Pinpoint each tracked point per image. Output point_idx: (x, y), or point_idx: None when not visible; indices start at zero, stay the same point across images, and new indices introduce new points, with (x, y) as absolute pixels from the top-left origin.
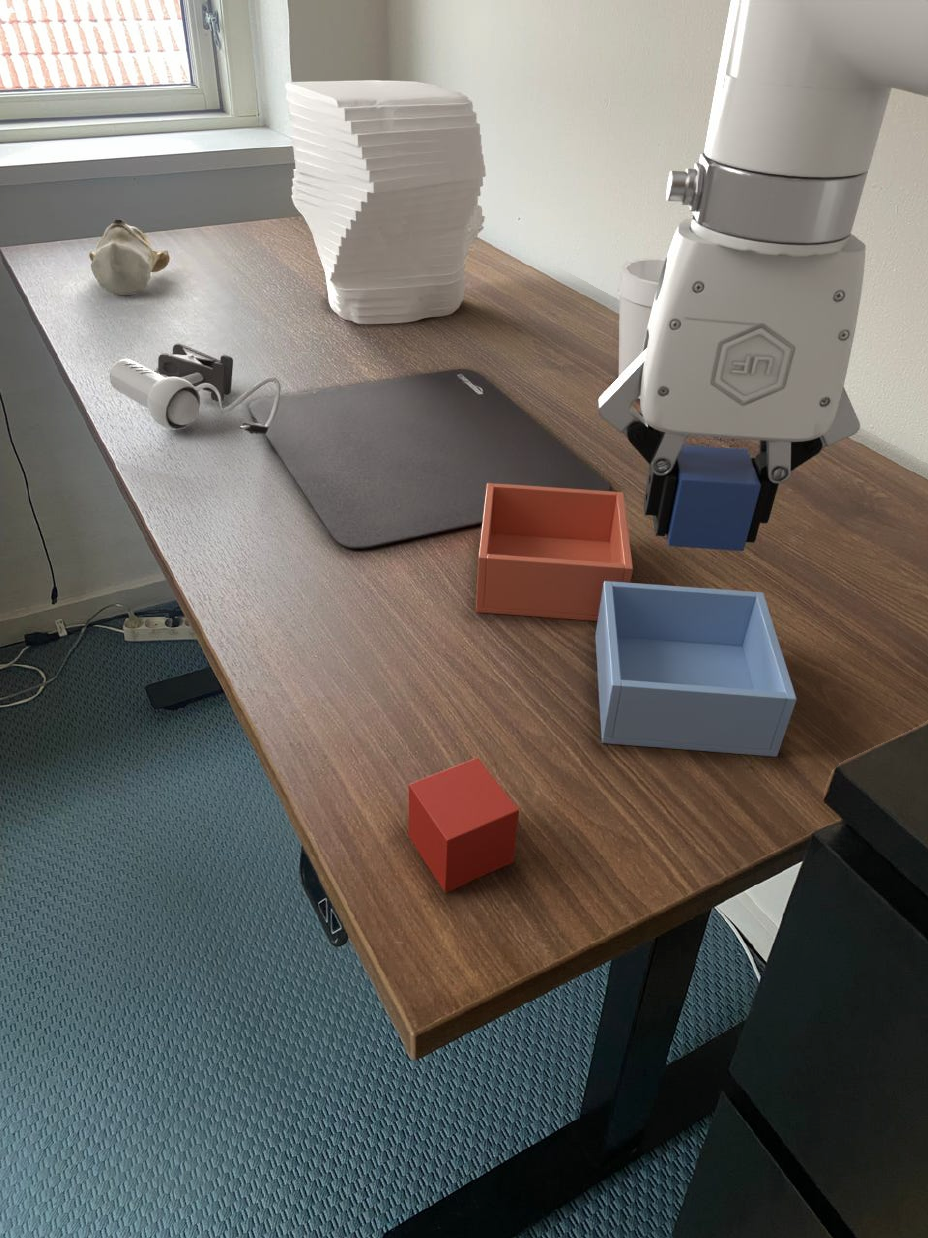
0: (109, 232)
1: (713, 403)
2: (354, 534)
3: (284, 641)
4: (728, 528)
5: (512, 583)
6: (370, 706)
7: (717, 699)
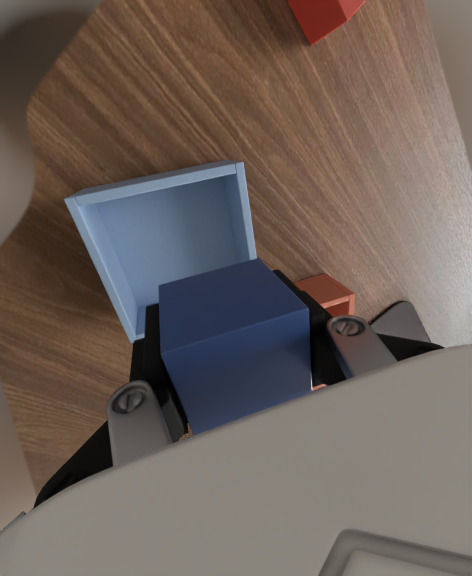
0: None
1: (454, 479)
2: (401, 314)
3: (437, 198)
4: (190, 292)
5: (318, 291)
6: (385, 148)
7: (143, 181)
